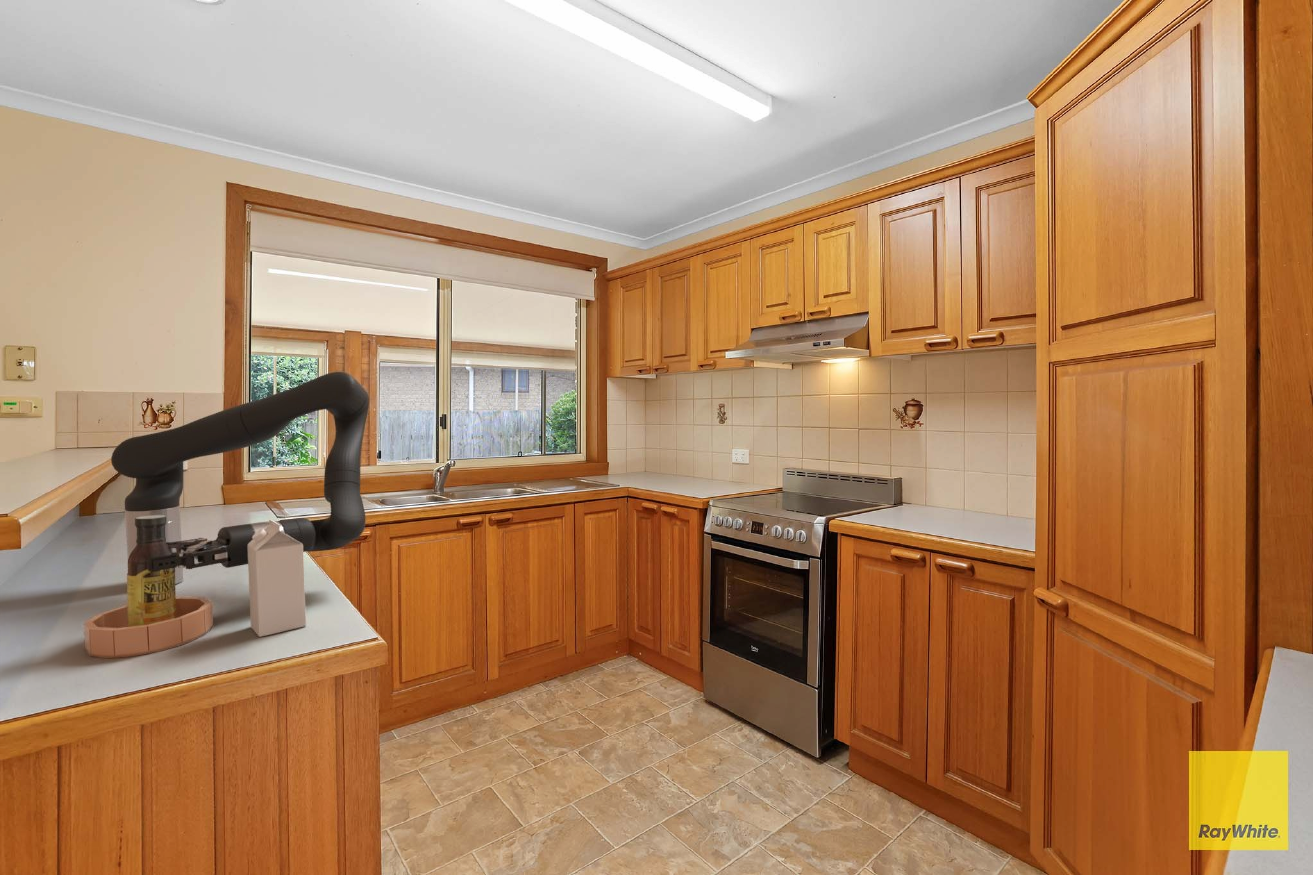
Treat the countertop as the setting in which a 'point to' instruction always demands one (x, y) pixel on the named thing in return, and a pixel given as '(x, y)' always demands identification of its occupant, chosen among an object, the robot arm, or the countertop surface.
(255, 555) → the milk carton
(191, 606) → the terracotta bowl
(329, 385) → the robot arm
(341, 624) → the countertop surface
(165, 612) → the sauce bottle
